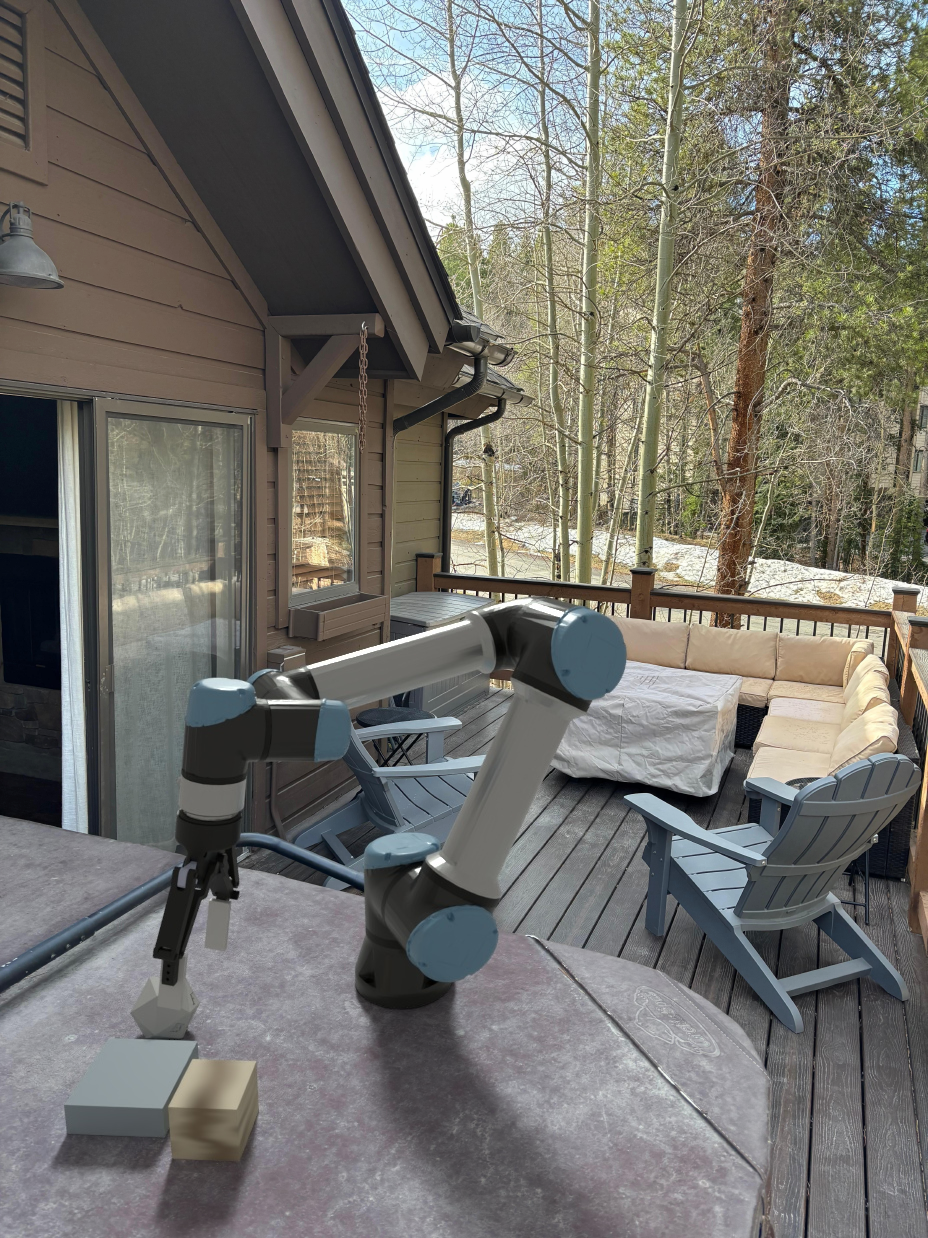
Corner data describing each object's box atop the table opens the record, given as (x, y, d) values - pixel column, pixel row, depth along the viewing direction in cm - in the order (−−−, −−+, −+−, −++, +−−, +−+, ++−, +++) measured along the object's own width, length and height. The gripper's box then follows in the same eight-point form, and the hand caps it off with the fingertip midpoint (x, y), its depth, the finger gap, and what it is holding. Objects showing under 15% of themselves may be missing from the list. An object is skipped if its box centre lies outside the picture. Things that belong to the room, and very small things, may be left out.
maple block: (258, 1111, 109) (256, 1061, 108) (239, 1162, 101) (236, 1110, 100) (195, 1108, 109) (192, 1059, 108) (171, 1159, 102) (168, 1107, 100)
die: (161, 1066, 118) (202, 1001, 119) (109, 1030, 118) (150, 966, 120) (180, 1046, 126) (218, 986, 127) (131, 1013, 126) (169, 954, 128)
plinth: (199, 1068, 116) (197, 1041, 116) (164, 1137, 105) (162, 1108, 104) (110, 1064, 117) (108, 1038, 116) (66, 1134, 105) (63, 1105, 104)
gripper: (219, 773, 116) (204, 923, 119) (130, 843, 92) (114, 1029, 94) (274, 782, 116) (258, 932, 118) (198, 854, 91) (180, 1042, 94)
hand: (194, 976), depth 106 cm, fingers open, 13 cm apart
